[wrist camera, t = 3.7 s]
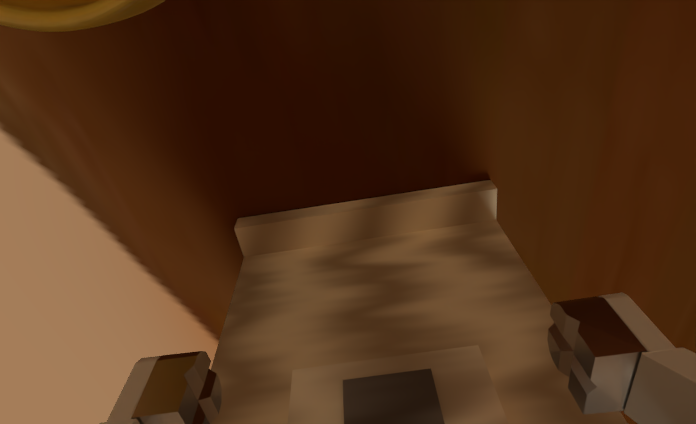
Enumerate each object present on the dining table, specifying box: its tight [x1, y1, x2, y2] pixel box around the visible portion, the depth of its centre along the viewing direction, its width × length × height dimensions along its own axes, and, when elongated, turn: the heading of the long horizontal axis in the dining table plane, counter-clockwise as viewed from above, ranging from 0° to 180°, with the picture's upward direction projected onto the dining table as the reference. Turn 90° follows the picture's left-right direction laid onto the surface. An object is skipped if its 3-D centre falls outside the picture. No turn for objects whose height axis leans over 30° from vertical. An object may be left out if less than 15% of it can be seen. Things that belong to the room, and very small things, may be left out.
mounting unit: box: [210, 180, 628, 424], centre depth 19 cm, size 16×10×23 cm, turn 99°
